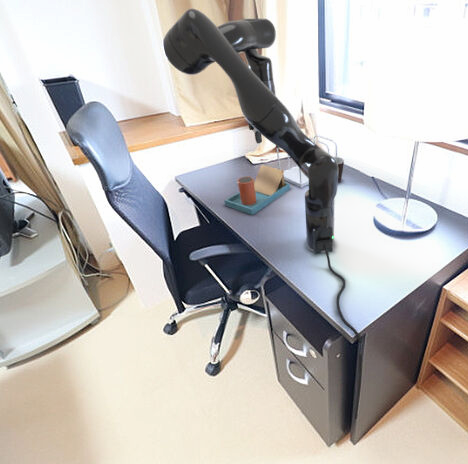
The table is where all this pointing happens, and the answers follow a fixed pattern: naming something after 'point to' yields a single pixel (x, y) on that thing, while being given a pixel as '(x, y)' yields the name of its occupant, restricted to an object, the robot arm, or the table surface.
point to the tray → (261, 202)
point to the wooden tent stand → (269, 180)
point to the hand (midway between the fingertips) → (269, 144)
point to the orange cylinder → (247, 190)
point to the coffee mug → (339, 167)
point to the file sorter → (295, 173)
